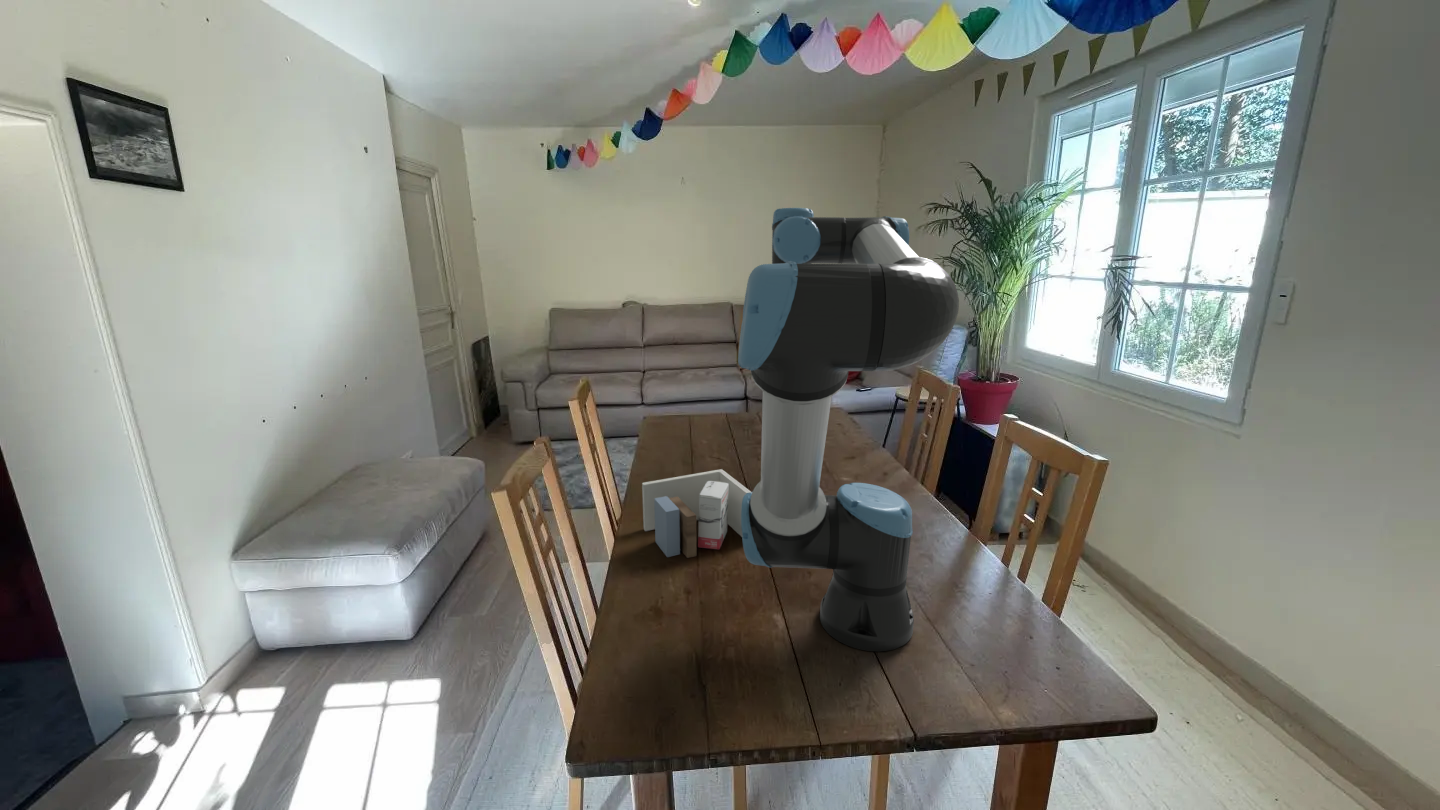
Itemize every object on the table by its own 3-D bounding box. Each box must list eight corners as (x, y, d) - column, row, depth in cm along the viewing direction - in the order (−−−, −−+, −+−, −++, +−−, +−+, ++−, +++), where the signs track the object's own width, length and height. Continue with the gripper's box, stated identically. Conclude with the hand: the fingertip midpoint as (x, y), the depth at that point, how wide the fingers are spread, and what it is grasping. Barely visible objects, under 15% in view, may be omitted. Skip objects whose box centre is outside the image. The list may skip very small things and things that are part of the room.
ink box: (720, 550, 121) (721, 497, 118) (697, 548, 122) (696, 495, 119) (728, 531, 129) (729, 481, 126) (706, 529, 130) (706, 479, 127)
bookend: (696, 555, 119) (696, 515, 116) (687, 557, 118) (686, 517, 115) (678, 534, 127) (677, 496, 125) (669, 536, 126) (668, 498, 124)
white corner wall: (753, 542, 124) (754, 494, 121) (668, 562, 116) (667, 511, 113) (721, 512, 138) (721, 469, 135) (643, 528, 130) (642, 482, 127)
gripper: (847, 298, 102) (840, 415, 107) (774, 288, 124) (771, 386, 129) (811, 299, 99) (806, 420, 104) (742, 289, 120) (741, 390, 126)
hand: (786, 401), depth 117 cm, fingers open, 13 cm apart
